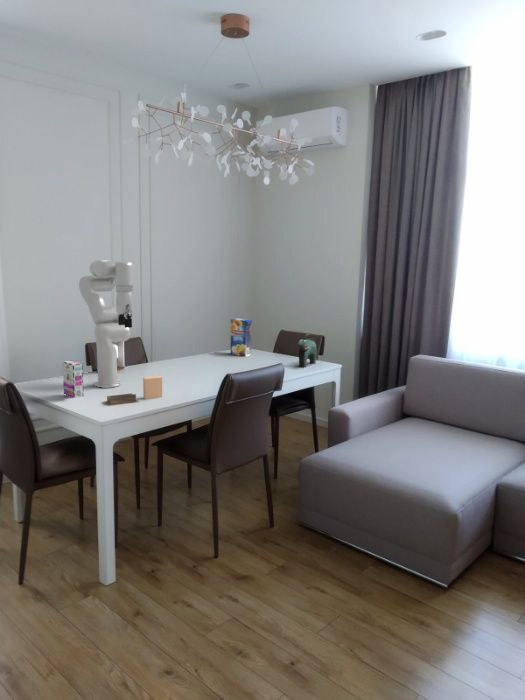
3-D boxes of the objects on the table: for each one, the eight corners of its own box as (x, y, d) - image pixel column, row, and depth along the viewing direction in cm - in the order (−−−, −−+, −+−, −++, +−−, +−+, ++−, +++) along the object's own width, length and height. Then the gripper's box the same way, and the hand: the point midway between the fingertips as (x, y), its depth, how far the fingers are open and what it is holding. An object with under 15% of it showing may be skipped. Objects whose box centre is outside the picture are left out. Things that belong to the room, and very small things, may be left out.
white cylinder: (96, 372, 307) (95, 310, 301) (106, 368, 317) (104, 308, 311) (115, 373, 304) (113, 311, 298) (124, 370, 315) (123, 309, 309)
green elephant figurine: (304, 368, 331) (305, 335, 327) (294, 367, 334) (295, 334, 331) (318, 363, 347) (319, 332, 344) (309, 362, 351) (310, 331, 347)
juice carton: (251, 355, 371) (251, 319, 366) (245, 356, 364) (246, 320, 360) (236, 353, 376) (236, 318, 372) (230, 354, 370) (230, 319, 366)
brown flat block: (103, 403, 245) (103, 394, 244) (134, 399, 252) (133, 390, 251) (108, 408, 238) (108, 398, 237) (139, 404, 245) (139, 394, 244)
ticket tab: (143, 398, 253) (143, 377, 251) (159, 396, 257) (159, 376, 255) (145, 400, 250) (145, 378, 249) (162, 398, 254) (162, 377, 253)
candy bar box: (84, 398, 253) (83, 363, 250) (74, 400, 250) (72, 364, 247) (73, 393, 261) (72, 359, 258) (63, 395, 257) (61, 361, 255)
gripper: (110, 288, 255) (111, 324, 258) (121, 290, 240) (122, 329, 243) (126, 287, 259) (127, 323, 262) (138, 290, 244) (139, 328, 247)
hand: (125, 326), depth 252 cm, fingers open, 9 cm apart
